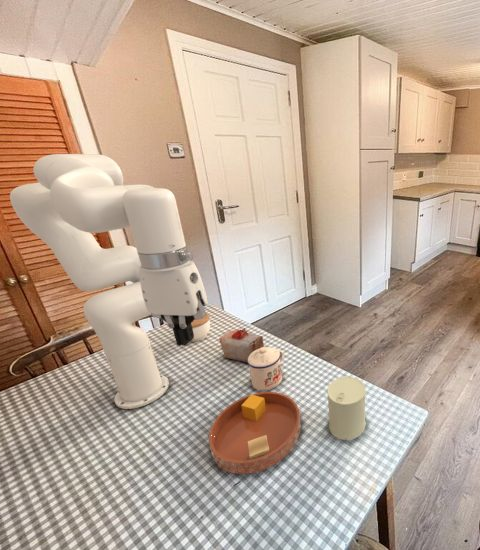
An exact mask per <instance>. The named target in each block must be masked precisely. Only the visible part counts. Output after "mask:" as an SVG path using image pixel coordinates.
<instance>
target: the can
mask: <svg viewBox="0 0 480 550" xmlns="http://www.w3.org/2000/svg"><path fill="white" fill-rule="evenodd" d="M366 392H367V391H366V386H365V384H364V382H363V381H362V380H361V379H358V378H356V377H353V376H342V377H339V378H336V379H334V380H333V381H332V382H331V383H329V385H328V386H327V390H326V393H327V402H328V403H327V404H328V405H327V406H328V423H329V424H328V427H329V431H330V433H331V434H332V436H333V437H335V438H336V439H339V440H343V441H350V440H354V439H356V438H358V437H359V436H361V435H362V434H363V432H364V431H365V429H366V425H367V423H366Z"/></svg>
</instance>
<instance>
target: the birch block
mask: <svg viewBox="0 0 480 550" xmlns="http://www.w3.org/2000/svg"><path fill="white" fill-rule="evenodd" d="M248 449H249V457H250V460H251V459H255V458H259V457H261V456H264V455H266V454H269V453H270V452H269V446H268V441H267V436H266V435H265V436H262V437H259V438H256V439H253V440H250V441H248Z"/></svg>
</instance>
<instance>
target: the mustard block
mask: <svg viewBox="0 0 480 550" xmlns="http://www.w3.org/2000/svg"><path fill="white" fill-rule="evenodd" d="M252 394H253V393H251V394H249V395H250V397H249V398H248V399H247V400H246V401H245V402H244V403H243V404H242V405H241V407H242V412H243V417H244V418H247V419H251V420H254V421H257V420H258V419H259V418H260V417H261V415H262V414H263V413H264V412H265V410H266V406H265V399H264V398H262V397H259V396H255V395H252Z"/></svg>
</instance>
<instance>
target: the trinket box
mask: <svg viewBox="0 0 480 550" xmlns="http://www.w3.org/2000/svg"><path fill="white" fill-rule="evenodd" d="M191 325H192V329H193V333H194V338H193V339H192V340H191V341H190V342H199V341H202V340H203V339H205V338H206V337H207V335H208V334H209V332H210V329H211V319H210V314H209V313H208V312H206V316H205V317H204V318H202V319H198V320H194V321H193V322H192V323H191Z"/></svg>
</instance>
